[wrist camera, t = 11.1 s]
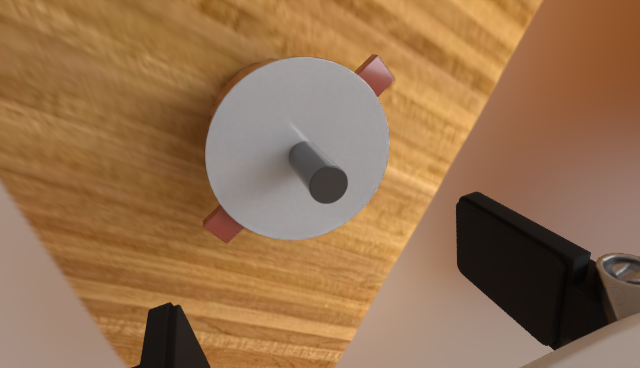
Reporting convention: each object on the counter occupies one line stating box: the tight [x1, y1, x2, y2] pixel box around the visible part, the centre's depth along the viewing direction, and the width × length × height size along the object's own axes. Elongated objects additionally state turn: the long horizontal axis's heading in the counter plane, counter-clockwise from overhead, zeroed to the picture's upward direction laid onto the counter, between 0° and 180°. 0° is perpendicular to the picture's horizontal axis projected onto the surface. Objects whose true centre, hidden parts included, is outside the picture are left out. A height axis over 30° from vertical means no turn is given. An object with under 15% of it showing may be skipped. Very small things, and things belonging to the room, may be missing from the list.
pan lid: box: [205, 57, 390, 240], centre depth 23 cm, size 14×14×7 cm
